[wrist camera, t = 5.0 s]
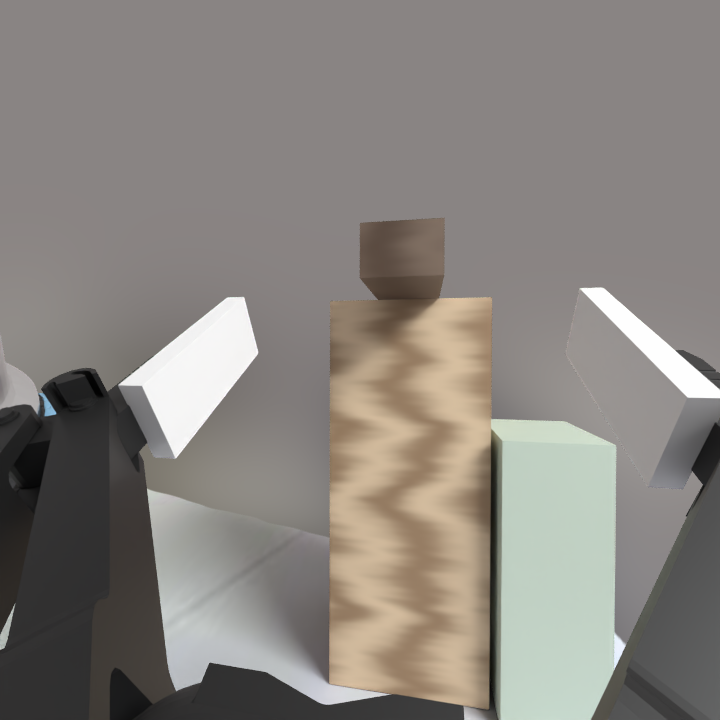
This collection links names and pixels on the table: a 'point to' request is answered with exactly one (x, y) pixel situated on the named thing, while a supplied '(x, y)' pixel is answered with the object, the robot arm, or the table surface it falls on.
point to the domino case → (403, 258)
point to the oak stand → (411, 497)
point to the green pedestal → (551, 569)
